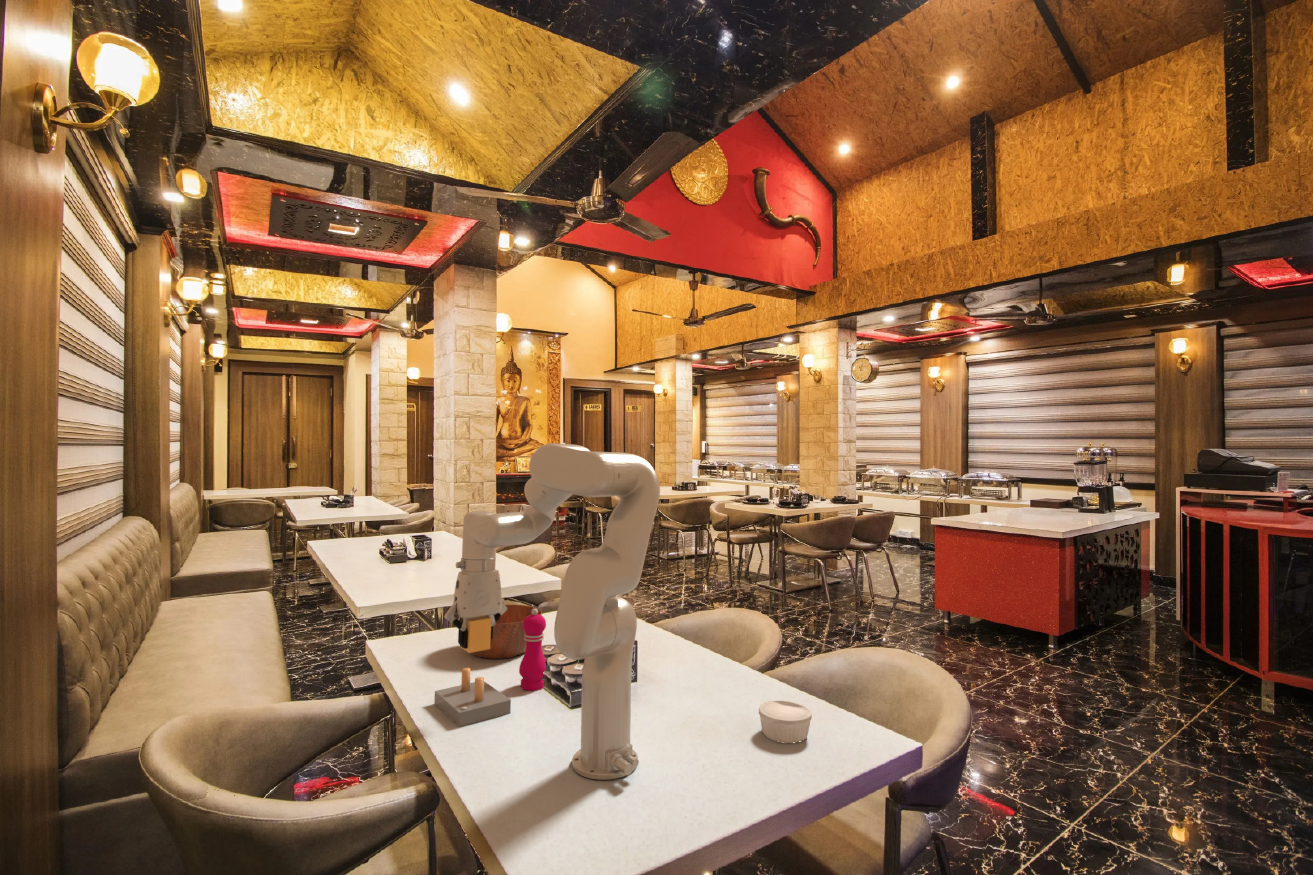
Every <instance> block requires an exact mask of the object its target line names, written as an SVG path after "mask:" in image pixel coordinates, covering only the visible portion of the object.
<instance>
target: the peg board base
mask: <svg viewBox="0 0 1313 875" xmlns="http://www.w3.org/2000/svg"><path fill="white" fill-rule="evenodd" d="M511 703H512V701H511V698H509V697H508V696H506V695H505V694H503V693H502V692H500V691H499V690H497V689H495V687H493V686H492V685H490V684H489V683H487V682H486V681H485V677H483V676H478V677H475V678H474V682H471V668H470V667H464V668H462V669H461V684H459V685H455V686H452V687H447V688H442V689H437V690H434V705H435V706H436V707H437V706H438V707H437V708H438V709H439V708H440V709H439V710H440V711H441V712H442V713H444V715H446V716H447V717H448V718H449V719H450V720H451V721H453V723H455V724H456V726H458V727H459V728H460V727H463V726H464V727H465V726H468V725H471V724H476V723H479V722H483V721H486V720H490V719H495V718H498V717H501V716H505V715H508V714H511V708H512V707H511Z"/></svg>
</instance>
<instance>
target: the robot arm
mask: <svg viewBox="0 0 1313 875" xmlns="http://www.w3.org/2000/svg"><path fill="white" fill-rule="evenodd" d="M528 469H529V474H530V476H531V477H530V478H529V479H528V480H527V481H526V483H525V484H524V488H523V489H524V490H523V491H524V496H525V499H526V500H527V502H528V503H529V505H528V506H527V507H526V508H524V509H523V510H521V511H513V512H502V513H501V512H500V513H499V512H498V513H494V512H492V511H482V510H480V511H479V510H478V511H477V510H476V511H469V512H466V513H465V514H464V516H463V519H462V520H463V523H462V545H461V547H462V548H461V557H460V561H456V562H455V568H456V569H460V570H461V571H458V574H457V577H456V582H455V586H454V592H453V593H454V595H453V601H452V602H453V603H452V605H451V606H450V608H449V609H448V610H447V611H446V612H445V614H444V618H445V620H447V621H448V622H450V623H451V624H452V625H454V627H456V629H458V636H457V642H458V645H459V646H461V647H462V648H464V649H466V648H467V647H468V631H467V624H468V620H469V618H475V617H481V616H488V617H490V618H491V639H492V638H493V626H495V624H496V621H497V620H498V619H499V618H500V616H501V615H502V614H503V613H504V612H505V611H506V610H507V607H506V606H505V605H506V604H505V603H504V601H502V584H501V577H500V576H501V575H500V571H499V569H496V560H497V559H496V558H497V554H496V553H497V549H498V548H504V547H512V546H519V545H525V544H529V543H531V542H533V541H534V540H535V539H536V538H538V537H539V536H541V535H542V534H543V533H544V532H545V531H547V529H549V528H550V526H551V525H552V524H553V522H554V520H555V518H556V513H557V509H558V507H560V506H561V505H562V504H563V503H564V502H565V501H567V500H568V499H570V497H571V496H573V495H576V496H580V497H586V498H605V497H606V498H607V497H619V500H618V502H617V504H616V506H614V509H613V510H612V512H611V514H610V515H609V518H608V521H607V522H606V529H605V530H606V531H605V534H604V538H603V540H602V543H601V545H600V546H598V547H594V548H589V549H585V550H583V551H581V552H579V553H578V554H577V555H575V556H574V557H573V558H572V560H571V561H570V563H569V564H568V566H567V569H566V571H565V574H564V578H563V582H562V586H561V592H560V595H559V596H560V597H559V601H558V605H557V610H556V616H555V620H554V629H553V633H554V634H553V636H554V641H555V644H556V647H557V649H558V650H559V651H558V652H560V653H561V655H562V656H564V657H565V658H567V659H569V660H574V661H575V660H576V661H578V660H584V661H583V664H582V665H583V666H582V673H581V674H582V675H581V677H582V678H581V710H580V711H581V712H580V713H581V717H580V718H581V719H580V720H581V721H580V722H581V723H580V749H579V750H578V751H575V753H574V754H573V755H572V756H573V757H572V758H571V759H572V761H571V762H572V763H571V764H572V768H573V770H574V771H575V772H576V773H577V774H579V775H580V776H581V777H584V778H587V779H591V780H598V781H599V780H600V781H607V780H608V781H609V780H615V779H620V778H623V777H625V776H630V775H631V774H632V772H633V771H634V770H636V768H637V767H638V766H639V763H640V761H639V756H638V753H637V752H636V751H635V750H634V749H633V744H632V743H631V712H632V711H631V710H632V709H631V708H632V706H631V705H632V667H633V666H632V662H633V652H634V646H635V640H636V634H637V627H638V626H637V625H638V620H637V614H636V611H635V608H634V607H633V605H632V604H631V603H630V602H629V601H628V600H627V599H625V598H623V597H621V596H623V595H626V594H628V593H630V592H632V591H634V590H635V589H636V588H637V586H638V585H639V583H640V580H641V577H642V573H643V568H644V563H645V560H646V555H647V550H648V545H649V541H650V536H651V531H652V527H653V524H654V520H655V517H656V515H657V509H658V506H659V502H660V496H661V485H660V481H659V477H658V475H657V472H656V470H655V469H654V467H653V466H652V465H651V463H650V462H649V461H648V460H646V459H645V458H643V457H641V456H640V455H637V454H633V453H628V452H616V451H614V452H613V451H612V452H608V451H593V450H592V451H591V450H590V449H589V448H588V447H585V446H582V445H579V444H574V443H553V442H552V443H551V442H550V443H546V444H543V445H541V446H539V447H538V448H537V449H536V450H535V451H534V452H533V454H532V456H531V457H530V460H529V464H528ZM455 615H456V616H458V618H456V617H455ZM490 644H491V641H490ZM461 647H460V648H461ZM462 648H461V649H462ZM464 649H463V650H464Z"/></svg>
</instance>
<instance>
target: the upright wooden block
mask: <svg viewBox="0 0 1313 875" xmlns="http://www.w3.org/2000/svg"><path fill="white" fill-rule="evenodd" d="M467 631H468V647H467V648H466V649H464V648H462V647H461V646H460V645H459V646H460V649H463V650H464V651H465V652H466V653H469V654H473V653H472V652H477V651H482V650H488V649H490V641H491V618H490V617H488V616H481V617H475V618H469V620H468V624H467Z"/></svg>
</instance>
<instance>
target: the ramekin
mask: <svg viewBox="0 0 1313 875" xmlns="http://www.w3.org/2000/svg"><path fill="white" fill-rule="evenodd" d="M758 715H759V719H760V727H761V731H762V733H763V734H764V735H765V737H766V738H767V739H769V738H770V739H769V740H771V739H772V740H771V741H773V740H775V741H774V742H776V741H779V742H778V743H780V742H784V743H783V744H787V743H793V742H799V741H802V740H803V741H805V740H806V739H807V737H808V734H809V731H810V730H809V729H810V724H811V720H812V718H813V716H812V715H813V713H812V711H811V709H809V708H808V707H807V706H805V705H803V704H800V703H797V702H793V701H788V700H770V701H766V702H763V703H761V704H760V705H759V706H758ZM804 739H805V740H804ZM803 741H802V742H803ZM799 743H800V742H799Z"/></svg>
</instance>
